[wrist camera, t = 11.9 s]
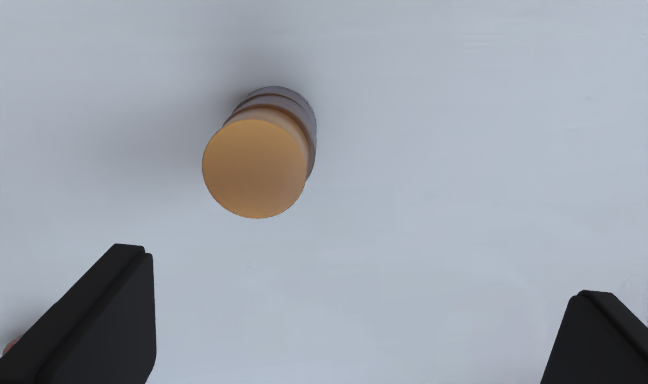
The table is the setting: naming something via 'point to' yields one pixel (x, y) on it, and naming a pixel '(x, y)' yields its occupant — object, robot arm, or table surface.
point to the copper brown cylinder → (256, 163)
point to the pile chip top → (293, 112)
